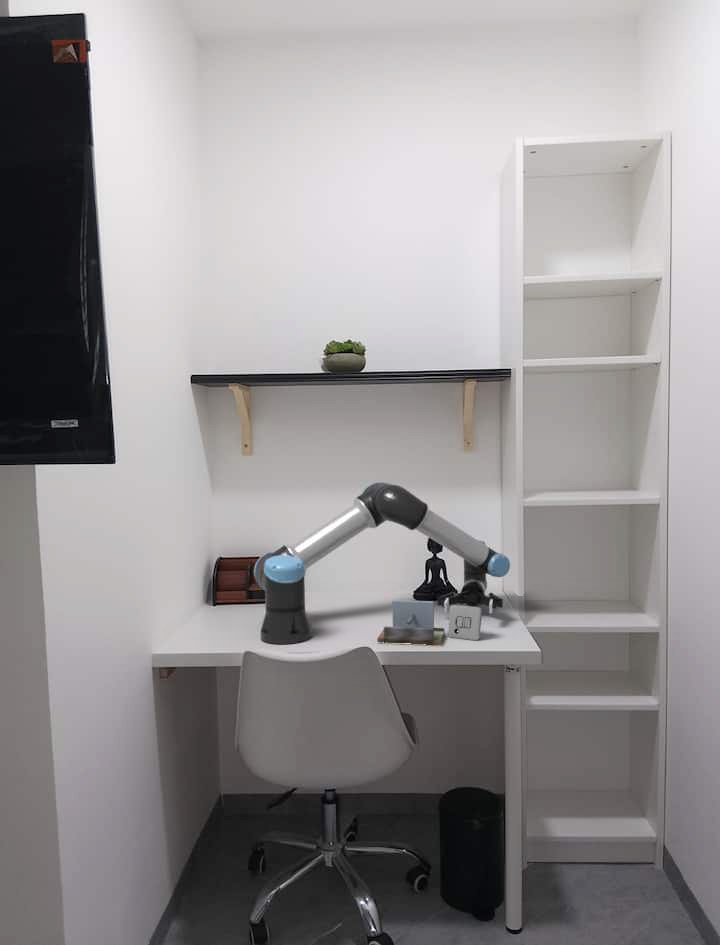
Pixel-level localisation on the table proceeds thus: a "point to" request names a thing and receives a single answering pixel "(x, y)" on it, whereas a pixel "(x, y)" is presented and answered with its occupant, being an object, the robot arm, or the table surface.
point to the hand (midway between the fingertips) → (467, 608)
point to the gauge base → (411, 635)
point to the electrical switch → (465, 622)
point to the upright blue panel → (414, 614)
